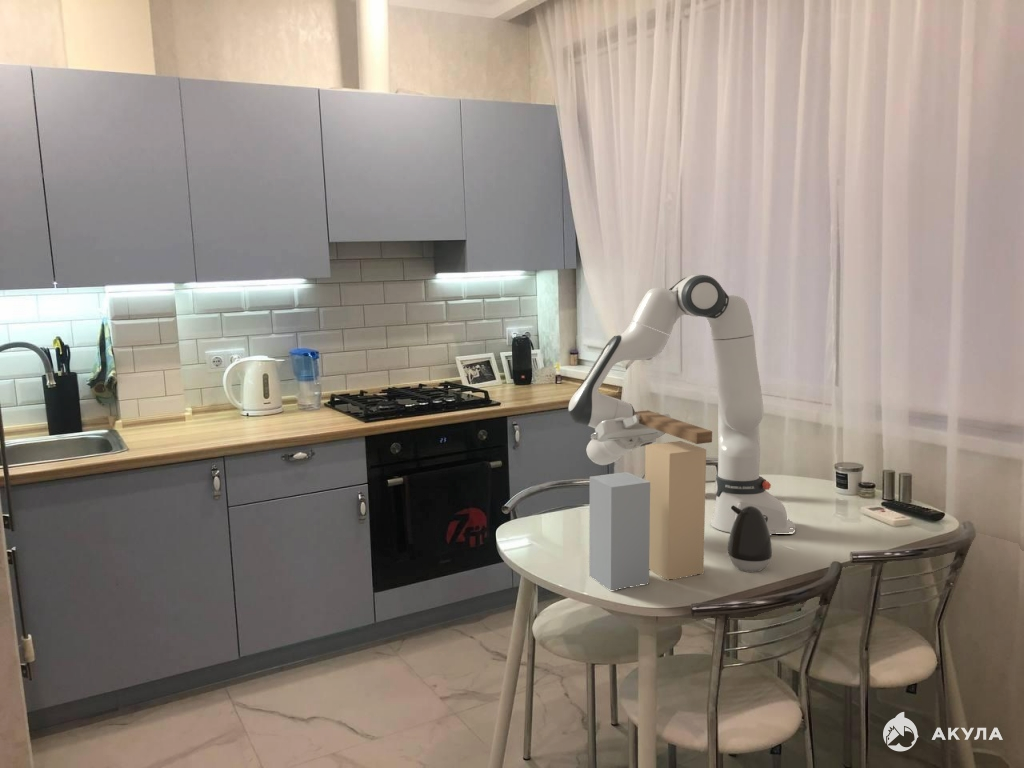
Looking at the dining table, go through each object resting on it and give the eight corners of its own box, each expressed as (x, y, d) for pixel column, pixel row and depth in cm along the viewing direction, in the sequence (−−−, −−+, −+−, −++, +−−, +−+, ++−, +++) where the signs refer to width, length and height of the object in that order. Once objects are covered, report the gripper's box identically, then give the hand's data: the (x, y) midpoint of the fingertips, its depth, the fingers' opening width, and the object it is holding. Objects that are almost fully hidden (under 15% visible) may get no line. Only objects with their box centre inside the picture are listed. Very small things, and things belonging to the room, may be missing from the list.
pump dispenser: (741, 557, 202) (743, 497, 200) (779, 568, 195) (782, 506, 192) (717, 567, 196) (719, 506, 194) (755, 579, 188) (757, 515, 186)
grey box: (589, 576, 191) (589, 476, 188) (626, 569, 195) (627, 471, 192) (610, 591, 182) (611, 487, 179) (648, 584, 186) (650, 482, 183)
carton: (643, 566, 197) (645, 444, 193) (678, 559, 201) (680, 440, 197) (667, 580, 188) (669, 453, 184) (703, 573, 192) (706, 449, 187)
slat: (634, 421, 202) (634, 411, 202) (647, 420, 204) (648, 410, 204) (696, 444, 179) (697, 433, 178) (711, 442, 180) (712, 431, 180)
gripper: (584, 427, 209) (608, 408, 197) (652, 420, 217) (679, 401, 205) (590, 450, 207) (614, 432, 195) (659, 442, 215) (686, 424, 203)
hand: (648, 416), depth 200 cm, fingers closed on slat, 4 cm apart
